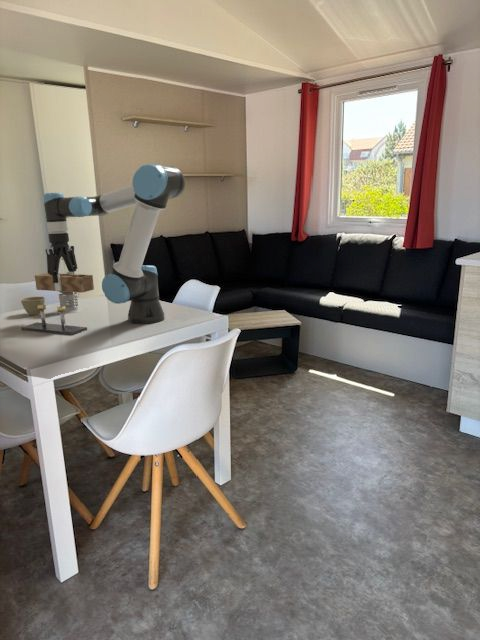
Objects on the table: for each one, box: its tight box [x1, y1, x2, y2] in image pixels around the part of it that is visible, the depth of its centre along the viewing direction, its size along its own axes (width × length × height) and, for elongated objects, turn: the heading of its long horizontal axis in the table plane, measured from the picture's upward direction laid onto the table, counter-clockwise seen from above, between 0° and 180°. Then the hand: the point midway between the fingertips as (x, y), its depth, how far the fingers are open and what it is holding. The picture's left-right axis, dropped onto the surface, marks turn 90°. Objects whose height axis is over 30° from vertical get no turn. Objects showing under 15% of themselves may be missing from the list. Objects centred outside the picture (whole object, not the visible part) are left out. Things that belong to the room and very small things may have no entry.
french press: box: [58, 257, 82, 315], centre depth 214 cm, size 10×12×25 cm
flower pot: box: [20, 296, 46, 316], centre depth 212 cm, size 10×10×7 cm
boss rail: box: [20, 304, 88, 336], centre depth 183 cm, size 26×8×10 cm, turn 68°
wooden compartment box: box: [34, 272, 95, 294], centre depth 192 cm, size 24×7×6 cm, turn 67°
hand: (65, 288), depth 193 cm, fingers closed on wooden compartment box, 7 cm apart
